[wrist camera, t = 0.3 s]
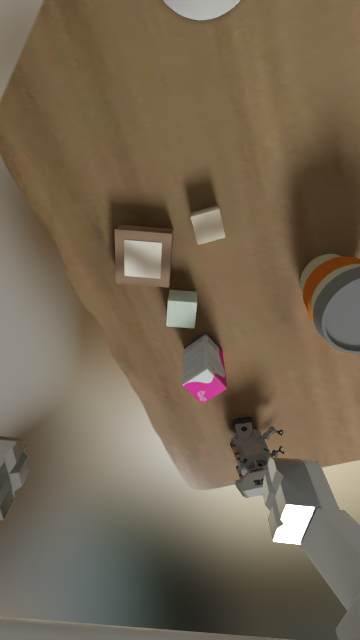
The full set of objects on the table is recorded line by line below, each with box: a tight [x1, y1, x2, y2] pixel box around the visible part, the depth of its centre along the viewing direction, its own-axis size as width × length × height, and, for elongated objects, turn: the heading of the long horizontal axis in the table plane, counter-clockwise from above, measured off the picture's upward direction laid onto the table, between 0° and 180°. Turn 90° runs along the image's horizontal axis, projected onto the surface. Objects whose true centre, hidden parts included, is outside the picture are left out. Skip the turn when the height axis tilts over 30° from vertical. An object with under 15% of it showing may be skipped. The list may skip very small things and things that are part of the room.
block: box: [191, 205, 225, 245], centre depth 50 cm, size 4×4×4 cm
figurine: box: [230, 417, 284, 498], centre depth 66 cm, size 9×12×15 cm
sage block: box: [166, 290, 197, 328], centre depth 57 cm, size 5×5×5 cm
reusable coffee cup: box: [300, 254, 360, 354], centre depth 49 cm, size 12×12×15 cm
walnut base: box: [115, 224, 173, 288], centre depth 53 cm, size 9×9×4 cm
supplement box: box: [182, 333, 227, 403], centre depth 58 cm, size 6×6×12 cm
